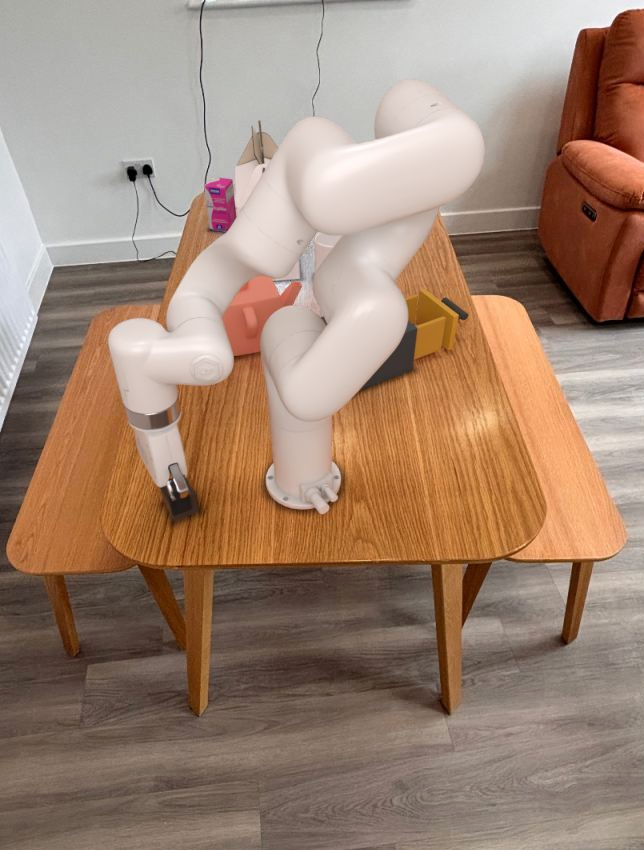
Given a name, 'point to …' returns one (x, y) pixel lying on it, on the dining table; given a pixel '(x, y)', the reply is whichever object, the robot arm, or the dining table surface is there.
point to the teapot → (255, 312)
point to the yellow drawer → (433, 322)
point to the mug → (323, 247)
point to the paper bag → (256, 175)
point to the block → (166, 501)
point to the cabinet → (396, 358)
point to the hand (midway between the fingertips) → (170, 491)
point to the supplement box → (220, 203)
